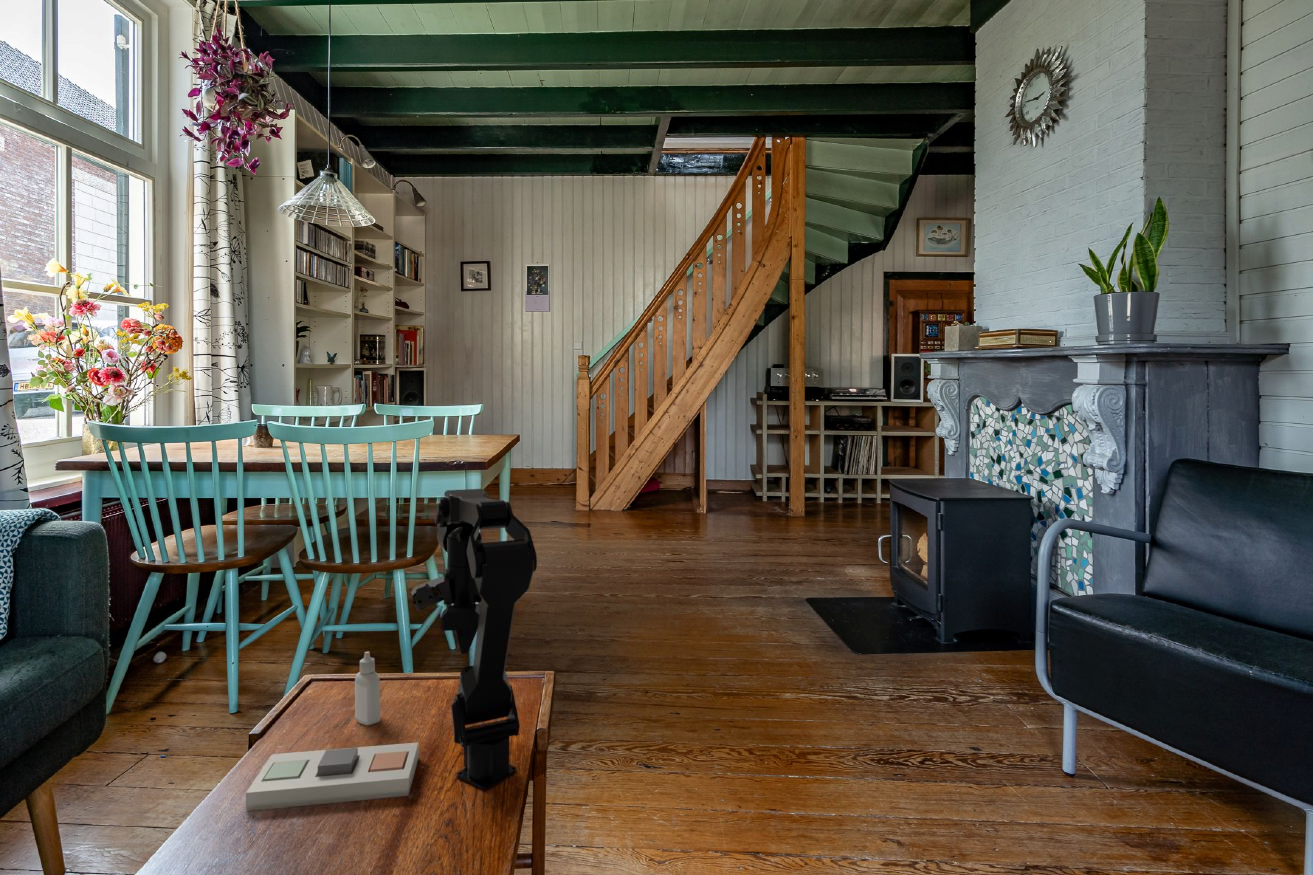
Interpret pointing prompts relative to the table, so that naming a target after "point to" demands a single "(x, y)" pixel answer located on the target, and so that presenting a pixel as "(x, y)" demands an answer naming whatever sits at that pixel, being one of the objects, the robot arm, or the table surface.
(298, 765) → the sage key
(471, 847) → the table surface
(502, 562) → the robot arm
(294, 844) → the table surface
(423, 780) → the table surface
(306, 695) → the table surface
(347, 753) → the charcoal key
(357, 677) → the eye dropper bottle
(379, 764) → the terracotta key
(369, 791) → the keypad frame
